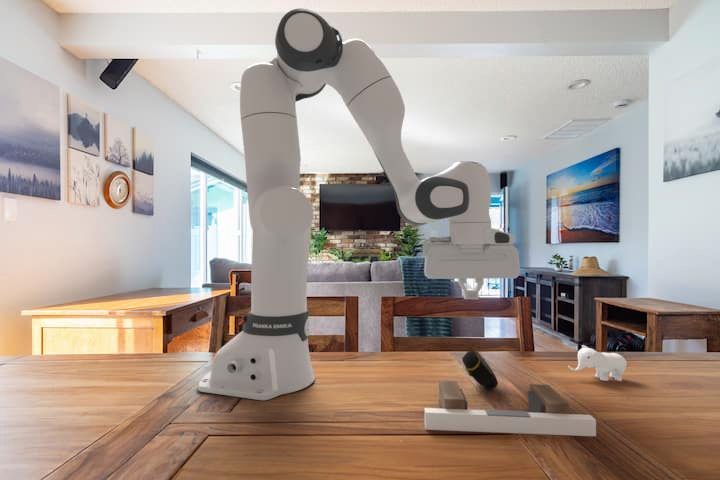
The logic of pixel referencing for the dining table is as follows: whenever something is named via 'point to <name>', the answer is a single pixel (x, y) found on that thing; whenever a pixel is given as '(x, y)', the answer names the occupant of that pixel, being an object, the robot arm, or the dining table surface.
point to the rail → (508, 414)
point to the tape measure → (479, 369)
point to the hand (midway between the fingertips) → (471, 298)
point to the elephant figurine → (601, 363)
